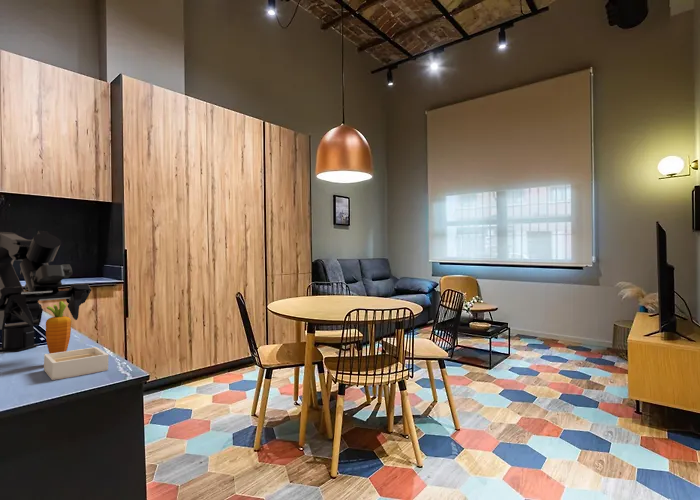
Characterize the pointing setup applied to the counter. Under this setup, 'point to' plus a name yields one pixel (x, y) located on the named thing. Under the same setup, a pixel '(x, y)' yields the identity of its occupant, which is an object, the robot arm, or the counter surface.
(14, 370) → the counter surface
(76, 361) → the beige open box
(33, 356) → the counter surface
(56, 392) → the counter surface
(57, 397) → the counter surface
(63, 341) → the carrot
